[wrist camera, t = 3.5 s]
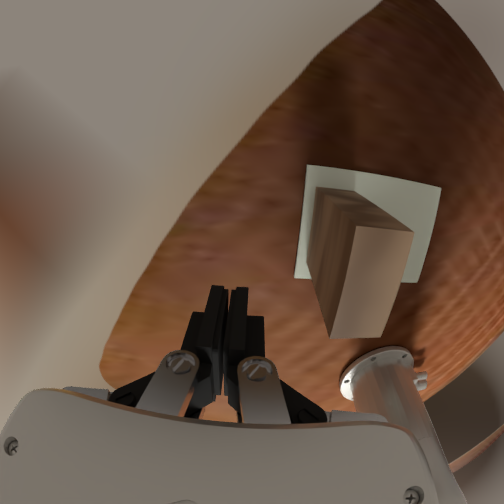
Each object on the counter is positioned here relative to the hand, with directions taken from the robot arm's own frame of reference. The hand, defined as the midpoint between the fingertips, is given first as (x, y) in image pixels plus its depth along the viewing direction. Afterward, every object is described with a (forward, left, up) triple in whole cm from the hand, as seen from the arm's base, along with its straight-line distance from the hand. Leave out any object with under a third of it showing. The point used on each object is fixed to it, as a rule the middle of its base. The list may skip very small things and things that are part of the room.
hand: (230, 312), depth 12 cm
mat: (-13, 0, -16) cm, 21 cm away
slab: (-8, 0, -16) cm, 18 cm away
